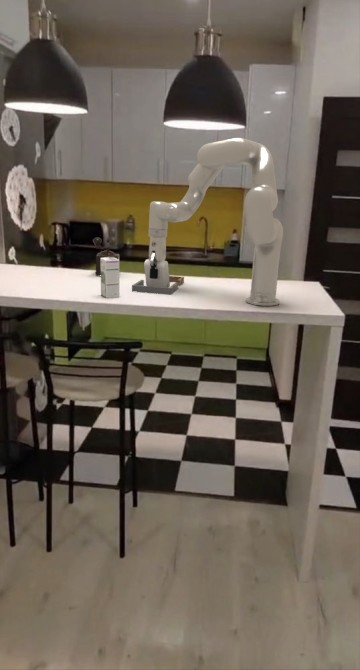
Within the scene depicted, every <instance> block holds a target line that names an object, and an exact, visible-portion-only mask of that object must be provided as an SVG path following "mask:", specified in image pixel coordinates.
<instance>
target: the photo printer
mask: <svg viewBox="0 0 360 670" xmlns="http://www.w3.org/2000/svg"><path fill="white" fill-rule="evenodd" d="M154 261H157V260H154ZM143 265H144V266H143V267H144V276H145V286H153V287H166V288H169V287H171V286H170V285H171V284H170V283H171V282H169V276H170V269H169V262H168V261H167V260H166V259H165V260H162V261H161V262H159V261H158V264H157V269H158V278H157V279H152V278H150V261H149V258H147V259H145V261H144V263H143ZM155 265H156V263H155Z"/></svg>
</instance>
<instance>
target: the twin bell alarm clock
mask: <svg viewBox="0 0 360 670" xmlns="http://www.w3.org/2000/svg"><path fill="white" fill-rule="evenodd" d="M102 241H103V240H102V238H100V237H97V236H96V237H95V238H93V239H92V242H93V243H94V248H95V249H97V250H98V249H100V252H98V253H97V254H96V256H95V273H94V274H95V276H96V275H101V262H100V259H101V258H105V257H113V258H116V259H119V260H120V254H119V253H115V252H114V251H111V250H110V244H111V243H110V239H109V238H108V239H106V246H104V247H102V246H101V243H102ZM102 250H103V251H102Z"/></svg>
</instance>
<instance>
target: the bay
mask: <svg viewBox="0 0 360 670" xmlns="http://www.w3.org/2000/svg"><path fill="white" fill-rule="evenodd" d="M178 289H179V286H178V282H174V283H173V284H172V285H171V286H170V287H169V288H166V287H153V286H146V285H145V280H144V279H140V280H138V281H137V282H135V283H134V284H132V285H131V291H132V292H133V291H137V292H136V293H145V292H147V293H148V294H157V293H158V295H159V294H160V295H172V294H173V293H175V292H176V291H177V290H178ZM147 293H146V294H147Z"/></svg>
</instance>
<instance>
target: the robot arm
mask: <svg viewBox="0 0 360 670" xmlns="http://www.w3.org/2000/svg"><path fill="white" fill-rule="evenodd" d="M196 159H197V162H198V163H197V164H196V166H195V167H194V168H193V169H192V171H191V172H190V173H189V175H188V177H187V178H188V185H189V187H188V190H187V191H186V193H185V195H184V197H183V198H182V199H181V200H180V201H176V202H166V201H160V200H159V201H157V200H154V201H151V202H150V204H149V212H148V213H149V217H148V218H149V219H148V238H150V239H149V246H148V259H149V261H150V278H152V279H157V278H158V269H157V264H158V261H159V262H161V261H162V260H165V261H166V257H167V239H166V238H168V229H169V228H168V225H169V224H168V223H179V222H185V221H188V220H189V219H190V218H191V217H192V216H193V215H194V214H195V212H196V211H197V210H198V208H200V205H201V204H202V202H203V200H204V198H205V196H206V192H207V190H208V188H210V186H211V185H212V184H213V182H214V180H216V179H217V177H218V175H219V174H220V173H221V172H222V170H223V169H224V168H225V166H230V165H246V166H249V167H250V180H251V181H250V182H251V188H250V189H249V190H248V192H247V193H246V195H245V197H244V198H245V199H244V213H245V219H246V228H247V229H246V230H247V234H248V238H249V240H250V241H251V242H252V243H253V244H254V245H255V246H254V249H253V259H252V272H251V281H250V282H251V283H250V284H251V285H250V295H249V296H247V297H246V298H245V302H246V303H248V304H251V305H254V306H263V307H272V306H273V307H274V306H278V305H280V300H279V299H278V298H277V288H278V287H277V285H278V277H279V265H280V258H281V257H280V256H281V248H282V243H283V240H284V239H283V238H284V227H283V224H282V223H281V221H280V220H279V219H277V218H275V217H274V215H273V212H274V211H275V209H276V208H277V206H278V204H279V198H278V197H279V196H278V190H277V189H278V188H277V181H276V172H275V163H274V158H273V155H272V153H271V151H270V150H269V148H268V147H267V146H265V145H264V144H262V143H259V142H256V141H254V140H251V139H246V138H243V137H234V138H233V137H232V138H229V139H223V140H219V141H214V142H213V141H212V142H209V143H205V144H204V145H202V146H201V147H200V148H199V150H198V151H197V155H196ZM154 260H157V261H154ZM155 263H156V265H155Z"/></svg>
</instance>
